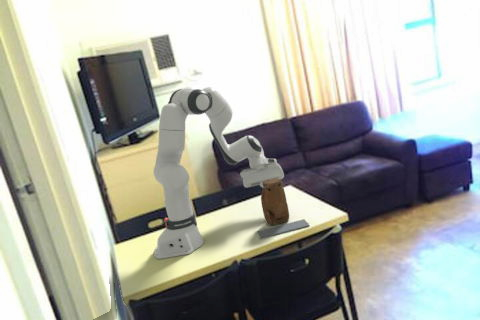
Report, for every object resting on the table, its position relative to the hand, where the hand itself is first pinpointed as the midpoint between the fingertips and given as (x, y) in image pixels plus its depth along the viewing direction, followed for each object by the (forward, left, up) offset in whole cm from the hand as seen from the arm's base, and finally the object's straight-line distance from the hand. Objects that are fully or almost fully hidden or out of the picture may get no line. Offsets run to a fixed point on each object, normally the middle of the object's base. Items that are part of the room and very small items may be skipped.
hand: (267, 190), depth 200 cm
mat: (0, -21, -12) cm, 24 cm away
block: (0, -11, -13) cm, 17 cm away
